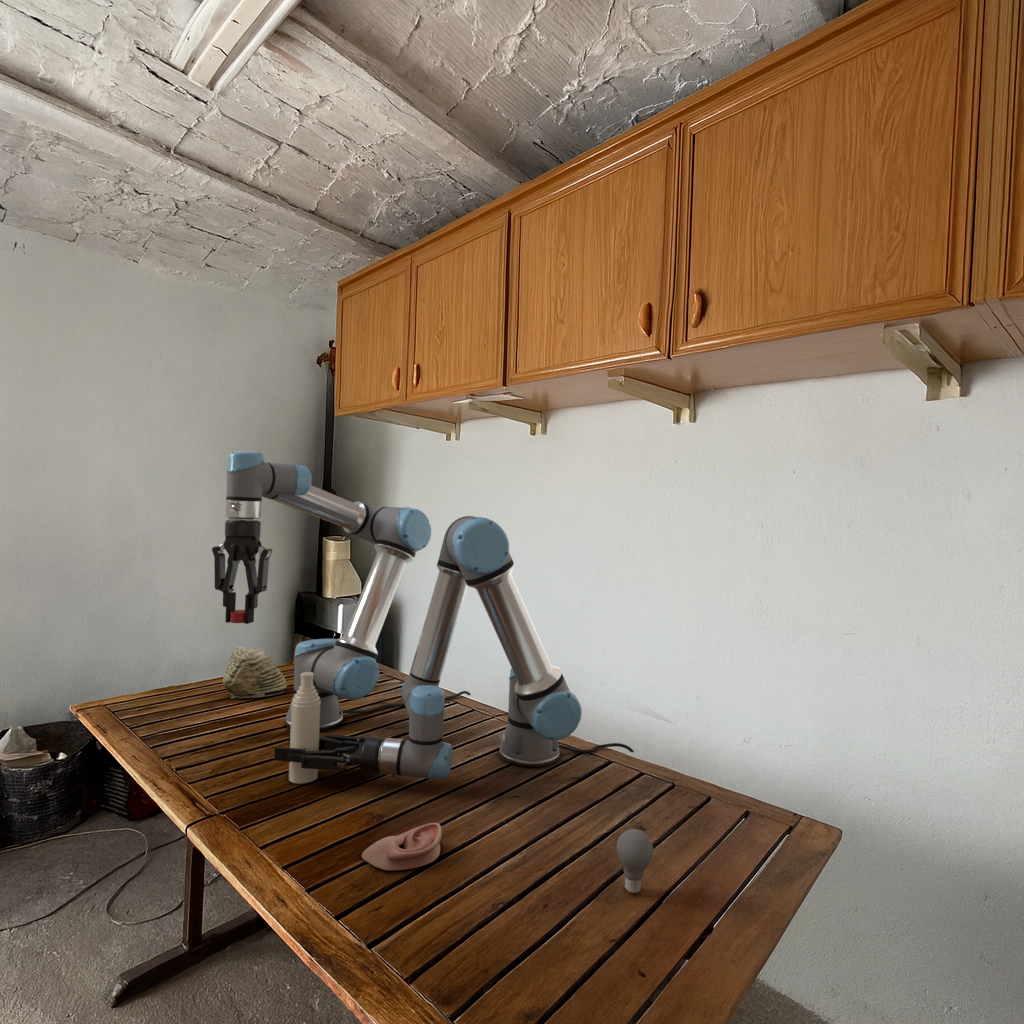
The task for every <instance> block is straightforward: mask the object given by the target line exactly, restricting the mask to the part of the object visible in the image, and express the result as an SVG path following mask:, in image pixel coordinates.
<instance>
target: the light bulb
mask: <svg viewBox="0 0 1024 1024" xmlns="http://www.w3.org/2000/svg"><path fill="white" fill-rule="evenodd" d="M615 849H616V854H617V857H618V859H619V861H620V863H621V865H622V867H623V873H624V874H623V875H624V876H625V878H624V888H625V890H627V891H628V892H630V893H634V894H635V893H639V892H640V891H641V889H642V887H641V886H642V879H643V877H644V875H645V871H646V868H647V867H648V866H649V864H650V863H651V861H652V859H653V855H654V847H653V843H652V841H651V838H649V836H648V835H647V834H646V833H645V832H643V831H642V830H641V829H636V828H629V829H627V830H625V831H623V832H622V833H621V834H620V835H619V837H618V839H617V841H616V847H615Z"/></svg>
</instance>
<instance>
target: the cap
mask: <svg viewBox="0 0 1024 1024" xmlns="http://www.w3.org/2000/svg"><path fill="white" fill-rule="evenodd" d="M244 622H245V609H235V610H233V611H231V614H230V622H229V623H231V624H244Z"/></svg>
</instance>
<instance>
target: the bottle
mask: <svg viewBox="0 0 1024 1024" xmlns="http://www.w3.org/2000/svg"><path fill="white" fill-rule="evenodd" d="M313 676H314V673H313V672H303V673H301V676H300V677H301V686H300V687H299V690H297V693H296V694H295V697H294V698H293V697H292V699H293V700H292V699H291V702H292V703H291V702H290V704H291V727H290V729H289V730H290V732H289V736H290V748H297V749H303V748H305V751H319V737H320V735H321V734H320V732H321V731H320V709H321V701H320V697H319V696H318V693H317V692H316V689H315V686H313ZM318 777H319V769H307V768H301V763H300V762H288V781H289V782H290V783H293V784H297V785H298V784H308V783H312V782H314V781H316V780H317V779H318Z"/></svg>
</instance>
